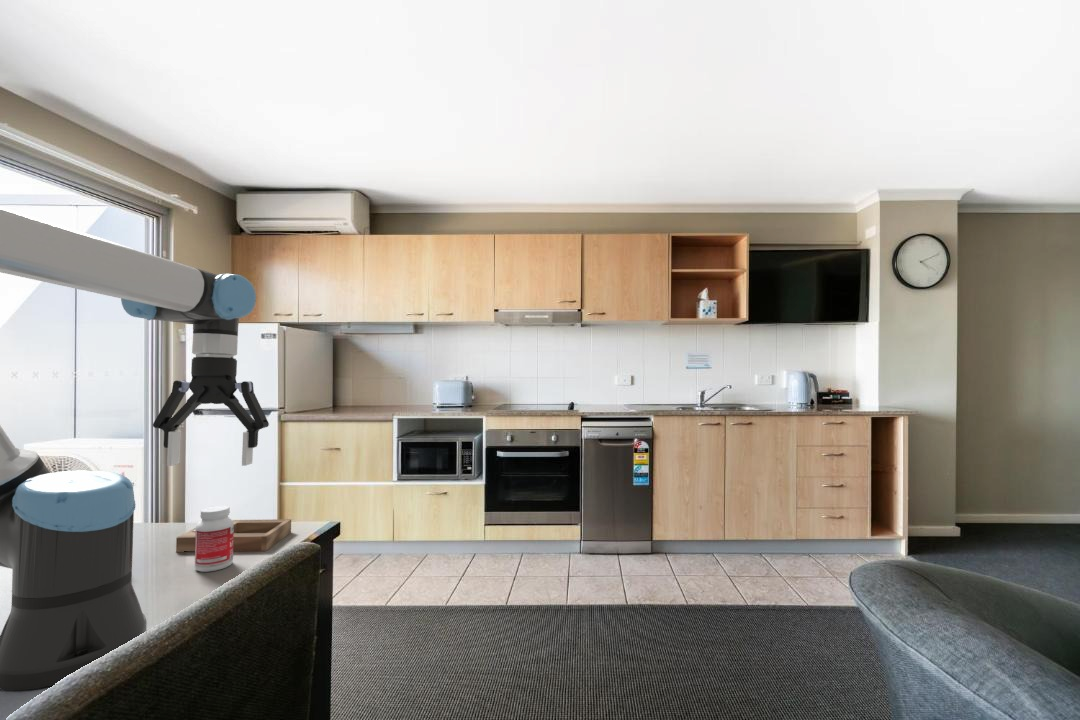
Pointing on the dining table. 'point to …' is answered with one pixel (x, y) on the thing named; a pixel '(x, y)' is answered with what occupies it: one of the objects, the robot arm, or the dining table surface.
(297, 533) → the dining table surface
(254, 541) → the socket block
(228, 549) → the pill bottle
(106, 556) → the robot arm
